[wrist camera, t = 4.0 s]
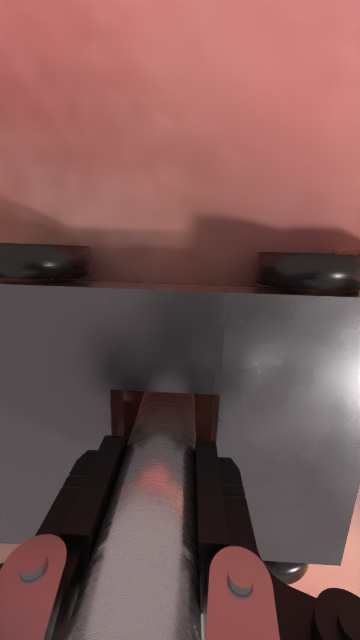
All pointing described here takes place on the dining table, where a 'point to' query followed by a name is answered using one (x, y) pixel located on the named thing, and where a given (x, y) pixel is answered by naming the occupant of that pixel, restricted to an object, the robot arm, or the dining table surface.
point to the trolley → (189, 385)
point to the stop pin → (147, 535)
